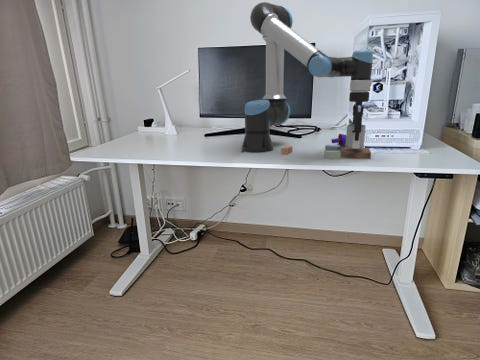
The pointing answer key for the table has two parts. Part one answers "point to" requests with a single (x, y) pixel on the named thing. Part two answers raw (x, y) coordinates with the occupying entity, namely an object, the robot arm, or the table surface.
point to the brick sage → (332, 154)
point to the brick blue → (332, 147)
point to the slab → (355, 153)
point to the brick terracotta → (286, 150)
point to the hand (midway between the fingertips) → (354, 145)
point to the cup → (350, 136)
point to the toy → (340, 140)
